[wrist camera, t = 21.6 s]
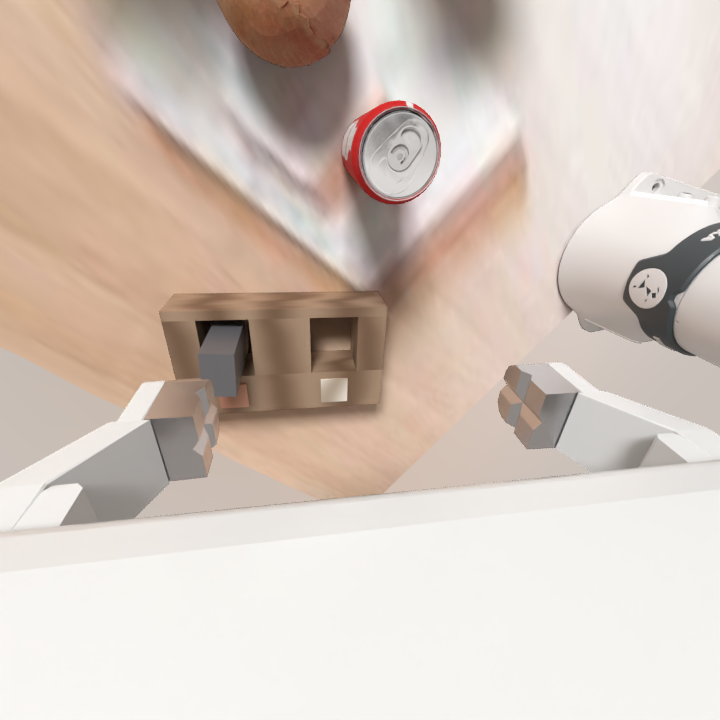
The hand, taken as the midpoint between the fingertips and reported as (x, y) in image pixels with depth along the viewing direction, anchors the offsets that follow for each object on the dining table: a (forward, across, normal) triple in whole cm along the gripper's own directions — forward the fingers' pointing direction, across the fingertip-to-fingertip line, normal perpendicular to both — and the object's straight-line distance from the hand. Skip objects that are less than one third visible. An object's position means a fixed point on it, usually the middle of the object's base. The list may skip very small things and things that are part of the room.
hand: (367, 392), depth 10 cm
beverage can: (+31, -5, -6) cm, 32 cm away
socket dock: (+31, +4, +13) cm, 34 cm away
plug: (+31, +9, +12) cm, 35 cm away
